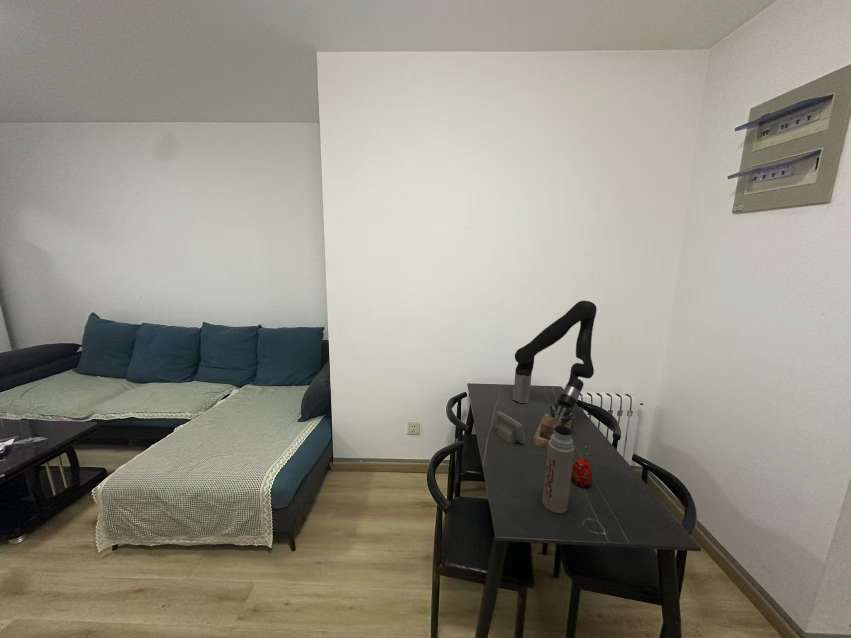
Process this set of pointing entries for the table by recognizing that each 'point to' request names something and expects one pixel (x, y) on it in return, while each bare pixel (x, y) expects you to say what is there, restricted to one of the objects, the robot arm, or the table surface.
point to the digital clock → (509, 429)
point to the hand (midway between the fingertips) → (554, 427)
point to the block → (549, 427)
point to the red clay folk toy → (582, 471)
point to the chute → (542, 441)
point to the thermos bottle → (558, 470)
